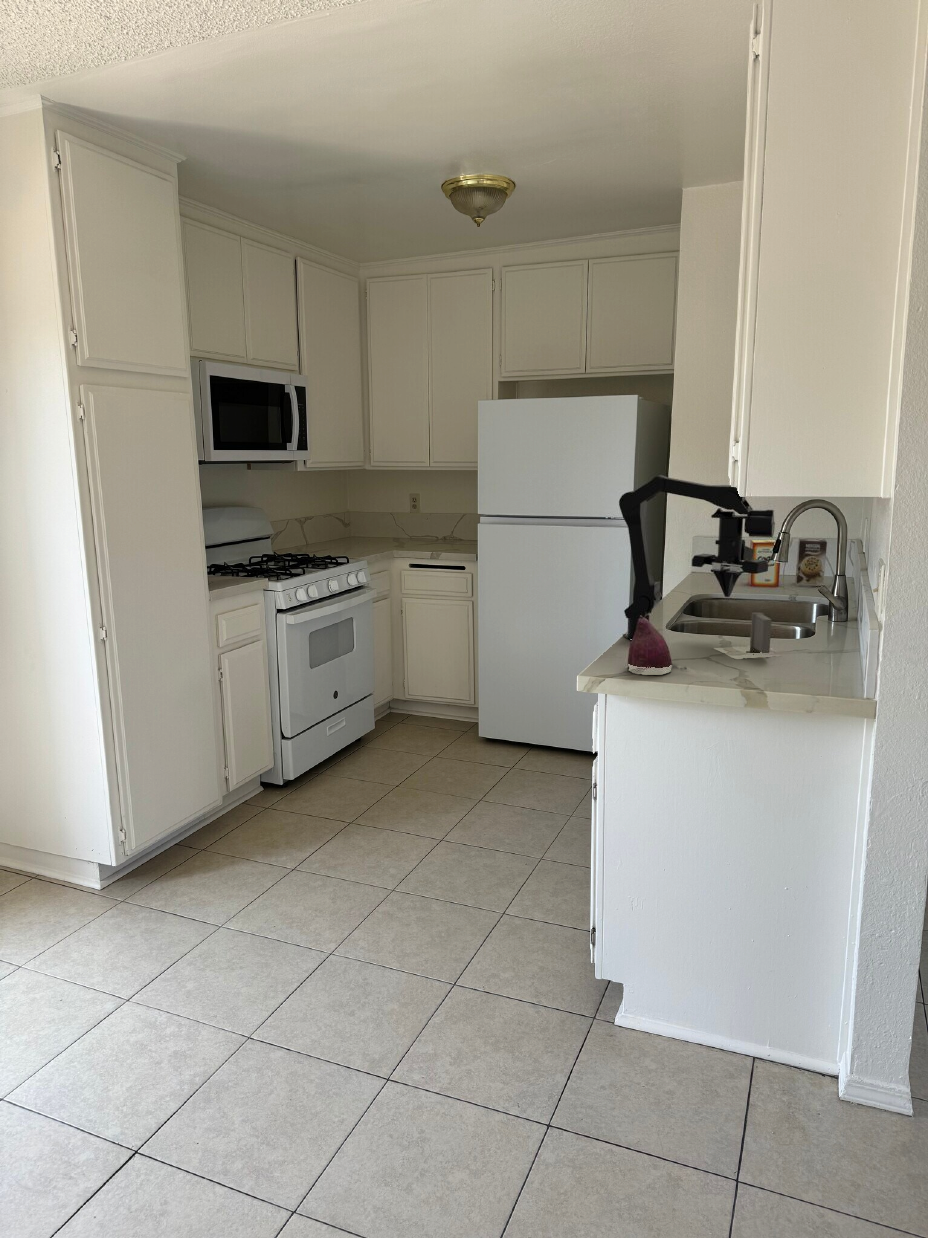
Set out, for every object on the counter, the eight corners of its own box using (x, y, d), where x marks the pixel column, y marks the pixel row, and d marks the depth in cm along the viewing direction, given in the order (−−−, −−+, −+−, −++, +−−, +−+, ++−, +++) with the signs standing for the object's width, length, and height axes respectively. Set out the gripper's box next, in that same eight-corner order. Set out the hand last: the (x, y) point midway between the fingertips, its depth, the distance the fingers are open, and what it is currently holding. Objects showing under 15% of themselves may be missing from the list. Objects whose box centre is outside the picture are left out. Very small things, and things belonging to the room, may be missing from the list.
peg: (759, 658, 205) (762, 619, 203) (748, 650, 213) (750, 612, 211) (783, 658, 205) (785, 619, 203) (770, 649, 213) (773, 612, 211)
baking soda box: (750, 586, 306) (752, 541, 302) (748, 583, 312) (750, 538, 308) (778, 586, 304) (781, 541, 300) (775, 583, 310) (778, 539, 307)
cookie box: (796, 586, 304) (799, 540, 301) (794, 583, 310) (797, 538, 307) (824, 587, 302) (827, 541, 298) (822, 584, 308) (825, 538, 304)
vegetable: (640, 690, 198) (631, 632, 192) (621, 673, 208) (611, 617, 202) (681, 676, 200) (673, 618, 194) (660, 659, 209) (652, 603, 204)
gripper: (781, 535, 216) (777, 597, 220) (715, 530, 230) (712, 588, 233) (757, 540, 209) (754, 603, 212) (691, 534, 223) (689, 593, 226)
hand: (727, 596), depth 221 cm, fingers closed
